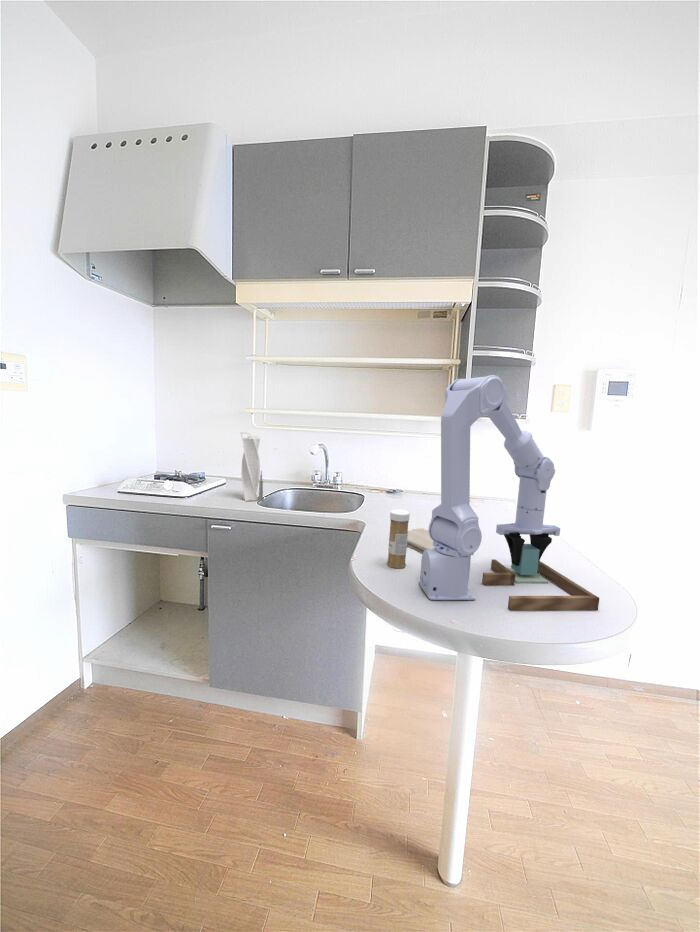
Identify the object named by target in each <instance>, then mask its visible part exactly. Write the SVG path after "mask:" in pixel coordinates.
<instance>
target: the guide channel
mask: <svg viewBox="0 0 700 932" xmlns="http://www.w3.org/2000/svg"><path fill="white" fill-rule="evenodd" d="M490 563H491V564H490V570H491V571H492V572H482V581H481V584H482V585H483V586H515V583H516V582H515V574H514V573H513V572H511V571H510V570H509V569H507V568H508V567H507V566H505V565H503V564H502V563H501V562H500V561H498V560H497V559H491V562H490ZM537 574H538V575H540V576H541V577H543V578H544V579H546V580H547V581H549V582H551V583H552V584H554V585H555V586H557V587H558V588H560V590H562V591H564V592H566V593H567V594H568V595H509V596H508V600H507V601H508V602H507V609H508V610H509V611H510V612H522V611H523V612H524V611H528V612H529V611H530V612H535V611H536V612H537V611H538V612H540V611H542V612H544V611H546V612H547V611H550V612H551V611H562V612H563V611H598V610H599V607H600V606H599V604H600V597H599V596H597V595H595V594H594V593H592V592H590V591H589V590H587V589H586V588H585V587H582V586H581V585H579V584H578V583H576V582H575V581H573V580H572V579H570V578H568V577H566V576H565V575H563V574H562V573H560V572H558V571H557V570H555V569H554V568H552V567H550V566H549V565H547V564H546V563H544V562H542V561H541V560H540V561H539V563H538V569H537Z"/></svg>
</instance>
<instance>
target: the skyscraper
mask: <svg viewBox="0 0 700 932" xmlns="http://www.w3.org/2000/svg"><path fill="white" fill-rule="evenodd" d="M243 434H246V435H247V437H244V436H243ZM240 436H241V441H242V447H243V455H242V458H241V459H242V460H241V482H242V483H241V485H242V490H243V495H242V497H241V500H243V501H245V502H246V503H253V502H255V503H256V502H264V501H265V500H264V497H263V496H264V494H263V493H264V490H263V489H264V487H263V486H264V481H263V474H262V471H263V470H261V463H260V455H259V452H258V450H259V446H260V442H261V441H260V440H261V437H259V436H256V435H253V434H251V433H250V432H246V431H242V432H240ZM258 488H259V489H258ZM257 491H258V492H257ZM257 493H258V494H257Z"/></svg>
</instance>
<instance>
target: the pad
mask: <svg viewBox="0 0 700 932" xmlns="http://www.w3.org/2000/svg"><path fill="white" fill-rule="evenodd" d="M506 568H507V569H509V570H510V571H511V572H513V573H514V574H515V583H516V584H549V582H550V581H549V580H548V579H546V578H545V577H543V576H542V575H541V574H539V573H537V575H520V574H519V573H517V572H516V571H515V570H513V569H512V568H511V567H506Z"/></svg>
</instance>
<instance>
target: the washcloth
mask: <svg viewBox="0 0 700 932" xmlns="http://www.w3.org/2000/svg"><path fill="white" fill-rule="evenodd" d="M407 547H408V548H410V549H412V550H415V551H417V552H419V553H420V554H421V555H422V554H423V551H424V550H430V549H433V548H435V547H434V546H433V540H432V539H431V538H430V536H429V529H425V528H419V527H418V528H414V529H413V528H412V529H411V530H408V538H407Z"/></svg>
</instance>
